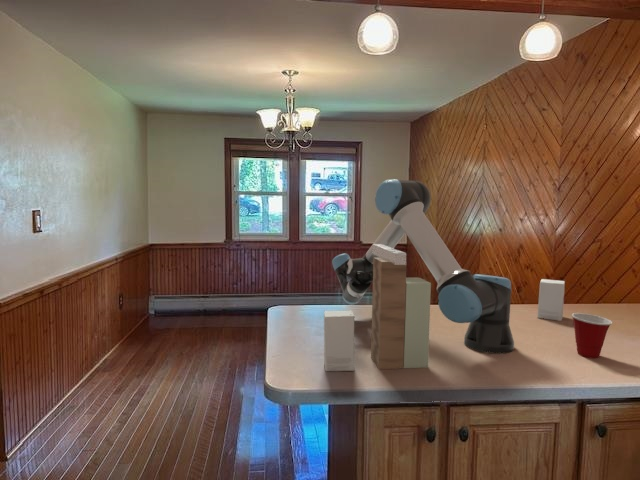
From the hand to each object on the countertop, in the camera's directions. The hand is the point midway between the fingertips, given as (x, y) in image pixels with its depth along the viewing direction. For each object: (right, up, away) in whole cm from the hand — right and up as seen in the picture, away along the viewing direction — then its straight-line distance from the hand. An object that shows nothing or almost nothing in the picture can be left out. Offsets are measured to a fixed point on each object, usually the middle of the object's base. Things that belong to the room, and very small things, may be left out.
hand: (371, 262), depth 147 cm
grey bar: (+3, +2, -18) cm, 18 cm away
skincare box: (-12, -28, -21) cm, 37 cm away
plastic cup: (+66, -28, -8) cm, 72 cm away
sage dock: (+9, -28, -16) cm, 34 cm away
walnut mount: (+2, -28, -17) cm, 33 cm away
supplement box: (+77, -24, +37) cm, 89 cm away
